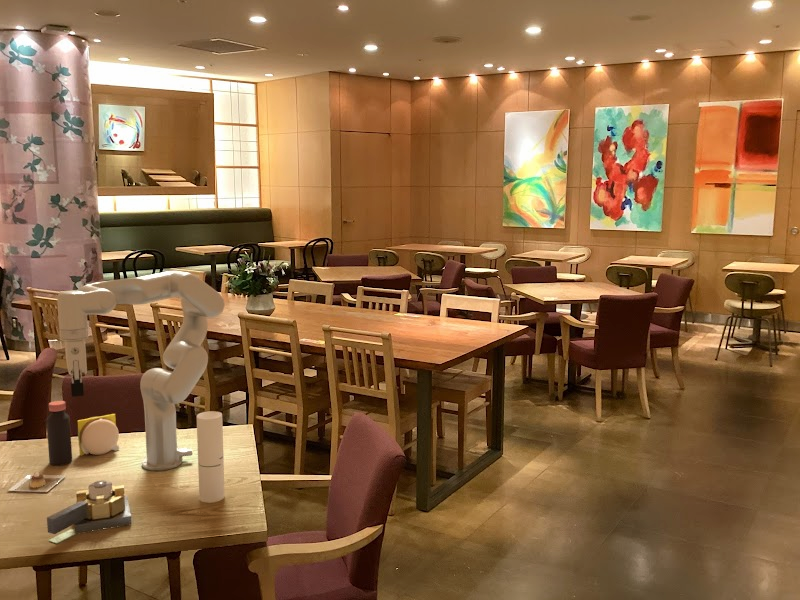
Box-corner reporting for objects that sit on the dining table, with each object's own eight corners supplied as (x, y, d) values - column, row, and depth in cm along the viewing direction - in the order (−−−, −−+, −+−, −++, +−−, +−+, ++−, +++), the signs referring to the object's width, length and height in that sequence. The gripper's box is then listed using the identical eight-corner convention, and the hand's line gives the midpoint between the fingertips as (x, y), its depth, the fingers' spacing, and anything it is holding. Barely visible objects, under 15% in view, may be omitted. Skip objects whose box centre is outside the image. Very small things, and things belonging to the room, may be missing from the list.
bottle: (45, 462, 243) (41, 402, 240) (66, 456, 248) (63, 398, 245) (54, 467, 239) (50, 407, 235) (75, 462, 244) (72, 402, 240)
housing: (127, 503, 213) (125, 469, 212) (132, 530, 198) (130, 494, 196) (48, 516, 205) (46, 480, 204) (48, 545, 189) (45, 507, 188)
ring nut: (101, 496, 212) (100, 477, 211) (134, 504, 207) (133, 485, 206) (34, 530, 191) (32, 509, 191) (68, 539, 187) (67, 518, 186)
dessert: (28, 477, 232) (27, 463, 231) (66, 478, 232) (65, 464, 231) (7, 494, 220) (6, 478, 219) (47, 495, 220) (46, 479, 219)
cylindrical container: (229, 494, 221) (227, 412, 216) (215, 504, 214) (213, 420, 210) (208, 490, 223) (205, 410, 219) (194, 500, 216) (191, 417, 212)
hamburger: (84, 460, 245) (82, 425, 243) (77, 452, 251) (75, 418, 249) (122, 452, 252) (120, 418, 250) (114, 445, 259) (112, 412, 257)
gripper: (89, 338, 209) (92, 401, 212) (87, 327, 223) (90, 387, 226) (59, 340, 206) (63, 404, 209) (59, 329, 220) (63, 390, 223)
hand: (77, 395), depth 218 cm, fingers closed
